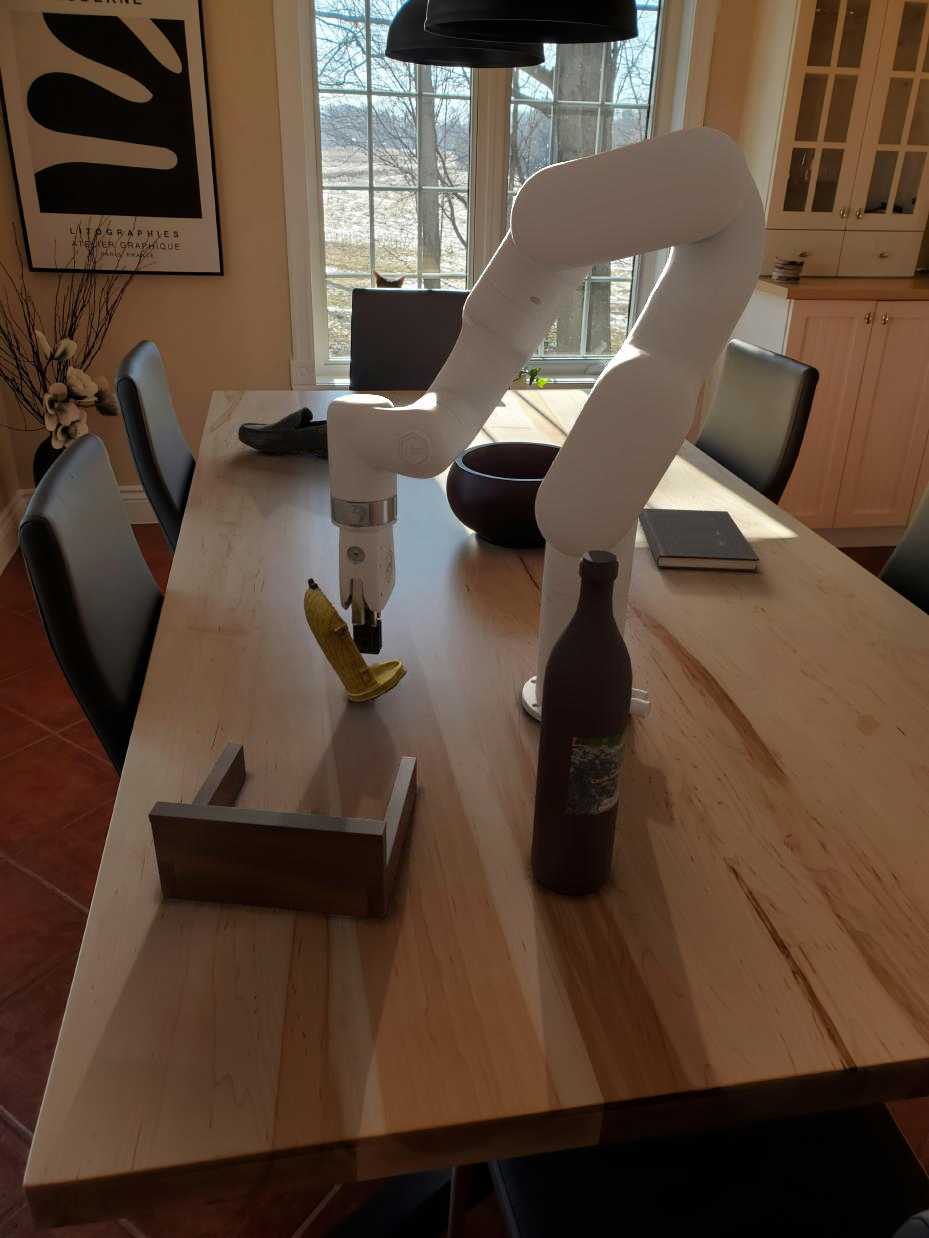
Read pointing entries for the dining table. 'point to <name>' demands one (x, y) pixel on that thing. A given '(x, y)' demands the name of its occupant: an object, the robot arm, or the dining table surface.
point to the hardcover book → (697, 540)
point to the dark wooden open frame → (279, 848)
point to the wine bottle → (582, 739)
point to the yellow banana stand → (347, 651)
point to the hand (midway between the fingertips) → (368, 650)
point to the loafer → (288, 435)
